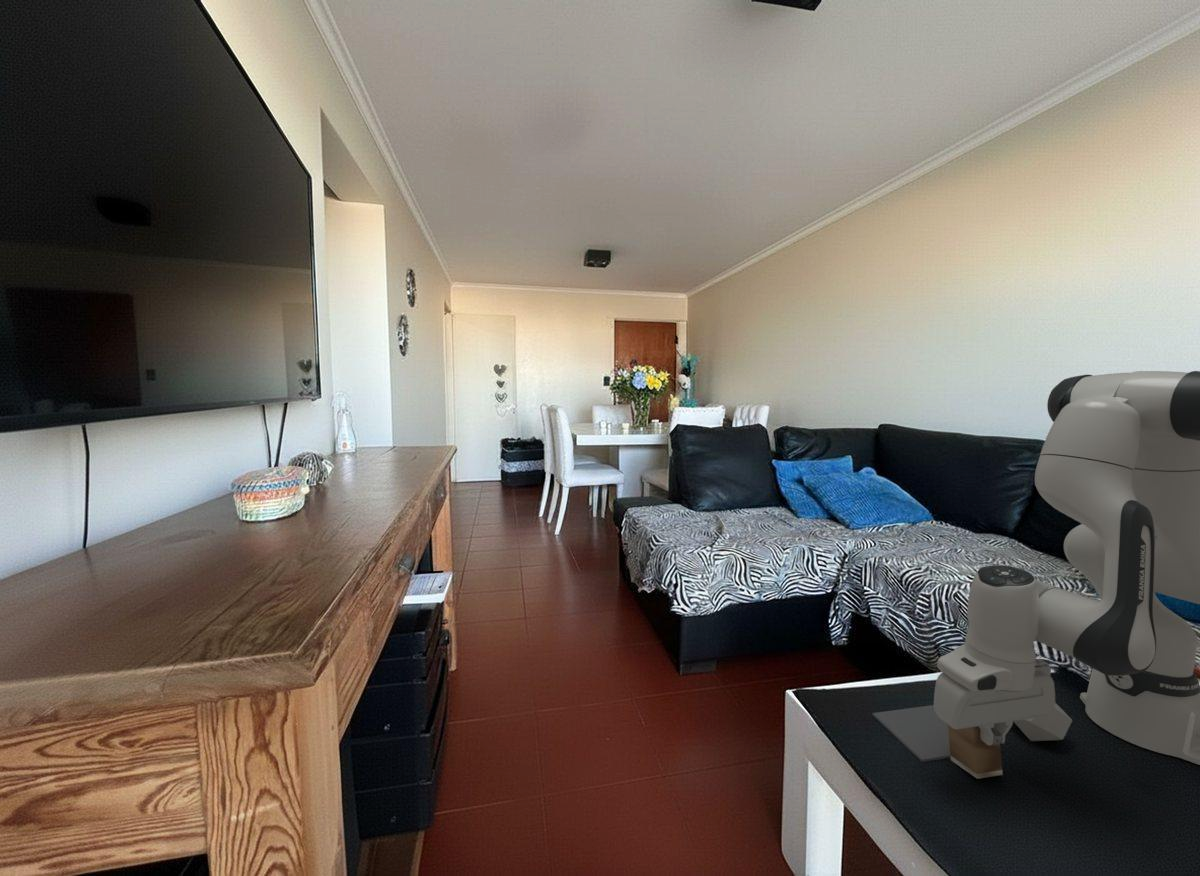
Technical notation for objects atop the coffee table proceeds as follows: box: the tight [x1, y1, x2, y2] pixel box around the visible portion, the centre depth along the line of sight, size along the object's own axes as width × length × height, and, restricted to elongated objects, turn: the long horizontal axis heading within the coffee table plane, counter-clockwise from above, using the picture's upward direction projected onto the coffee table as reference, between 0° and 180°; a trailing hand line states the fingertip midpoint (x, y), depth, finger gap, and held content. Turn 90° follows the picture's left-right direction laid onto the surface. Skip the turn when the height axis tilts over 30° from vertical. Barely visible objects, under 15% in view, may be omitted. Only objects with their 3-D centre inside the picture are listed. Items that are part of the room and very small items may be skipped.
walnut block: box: [948, 725, 1003, 779], centre depth 81 cm, size 5×5×10 cm
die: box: [1013, 702, 1073, 742], centre depth 88 cm, size 8×9×10 cm
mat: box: [871, 704, 951, 763], centre depth 89 cm, size 16×12×1 cm
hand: (992, 741), depth 77 cm, fingers closed
